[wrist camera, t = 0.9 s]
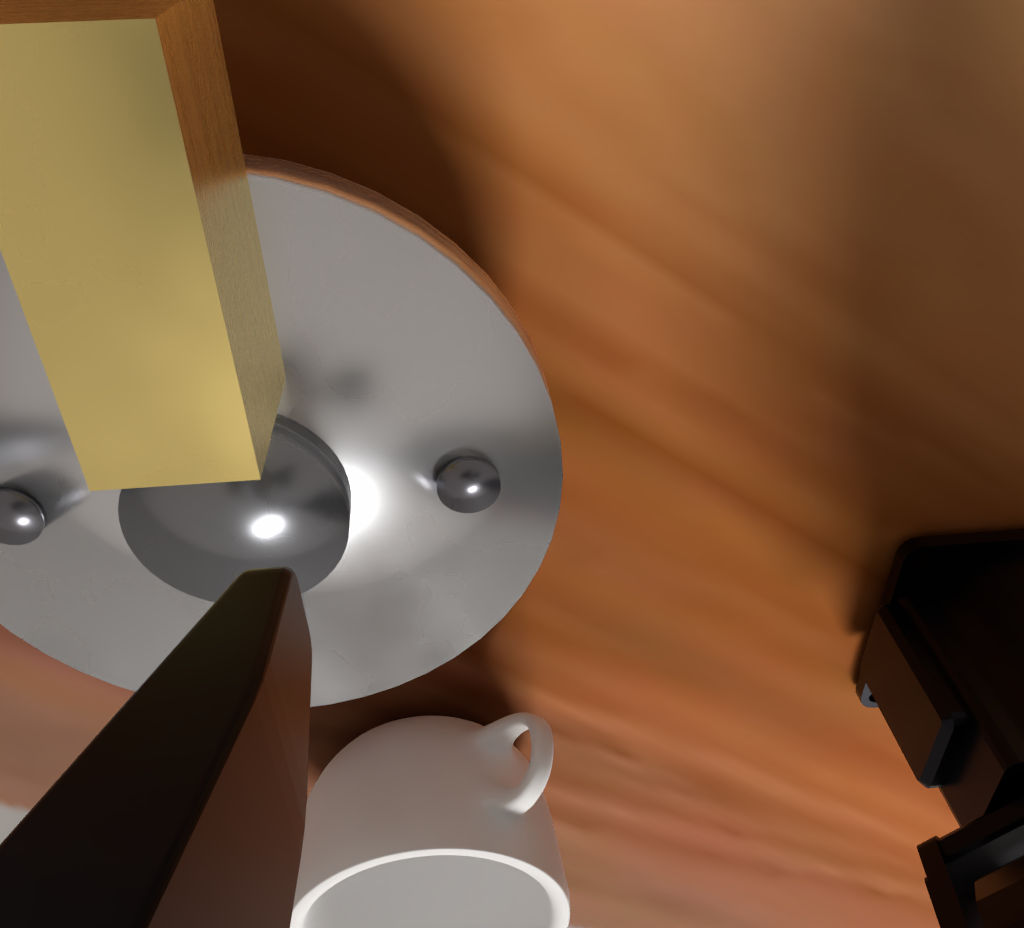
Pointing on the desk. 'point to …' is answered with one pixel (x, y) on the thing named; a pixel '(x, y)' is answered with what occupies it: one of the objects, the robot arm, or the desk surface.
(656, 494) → the desk surface
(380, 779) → the teacup
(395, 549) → the flange plate
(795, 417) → the desk surface
